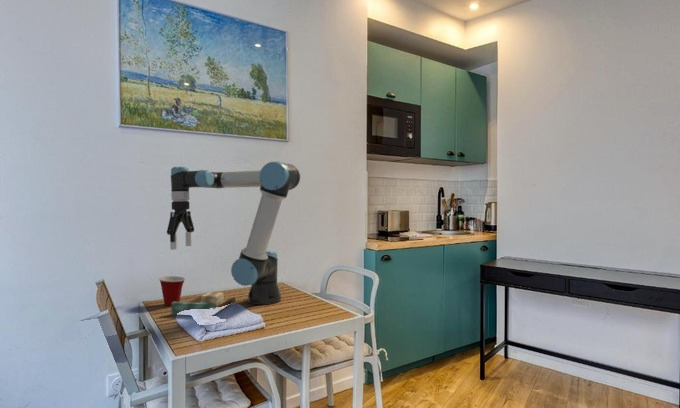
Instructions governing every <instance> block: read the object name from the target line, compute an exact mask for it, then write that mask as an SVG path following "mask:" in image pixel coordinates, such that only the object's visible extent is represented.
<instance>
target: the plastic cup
mask: <svg viewBox="0 0 680 408" xmlns="http://www.w3.org/2000/svg"><path fill="white" fill-rule="evenodd" d="M158 280H159V281H160V286H161V292H162V297H163V303H164V306H166V307H172V302H181V301H180V300H181V295H182V290H183V289H182V288H183V286H184V283H185V280H186V277H183V276H175V275H174V276H173V275H172V276H171V275H169V276H167V275H166V276H161V277H159V278H158Z"/></svg>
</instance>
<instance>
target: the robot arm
mask: <svg viewBox="0 0 680 408" xmlns="http://www.w3.org/2000/svg"><path fill="white" fill-rule="evenodd" d="M300 180H301V173H300V171H299V170H298V168H297V167H296V166H295V165H293V164H291V163H286V162H282V161H269V162H267V163H266V164H264V165H263V166H262V167H261V169H260V170H243V171H218V172H214V171H210V170H208V169H206V170H205V169H200V170H189V167H187V166H173V167H171V169H170V183H171V184H170V187H171V191H170V192H171V194H170V196H171V200H172V202H171V210H172V211H170V213H169V215H170V217H169V221H168V225H167V230H166V234H167V235H168V236H169V240H170V241H169V242H170V245H169V246H170V247H169V248H170V251H171V250H178V234H177V231H178V229H179V226H180V224H181V223H182V224H183V227H184V229H185V231H186V232H185V247H192V246H193V239H192V238H193V237H192V236H193V234H192V233H194V232H195V226H194V223H193V220H192V215H191V211H190V210H189V209H190V202H189V201H190V188H205V189H206V188H207V189H209V188H210V189H211V188H212V189H225V188H226V189H227V188H228V189H229V188H258V187H259V191H260V192H261V197H260V201H259V204H258V207H257V210H256V213H255V217H254V219H253V223H252V227H251V230H250V232H249V236H248V239H247V244H246V247H244V248H242V249H241V251H240V253H239V254H240V255H239V257H238V259H236V260H235V261H233V263H232V265H231V269H230V272H231V273H230V274H231V276H232V278H233V280H234V282H236V283H237V284H238V285H240V286H245V287H247V286H250V289H249V292H248V295H247V302H248V303H250V304H253V305H273V304H277V303H279V302H280V301H282V293H281V292H280V288H279V285H278V260H279V259H278V253H277V252H276V251H271V250H270V251H269V250H268V251H267V249H268V247H269V243H270V240H271V237H272V233H273V230H274V226H275V225H276V220H277V218H278V214H279V210H280V206H281V204H282V201H283V200H285V199H287V197H288V193H289V191H292V190H293V189H296V187H298V185H299V183H300Z"/></svg>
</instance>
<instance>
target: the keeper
mask: <svg viewBox="0 0 680 408" xmlns="http://www.w3.org/2000/svg"><path fill="white" fill-rule="evenodd" d="M224 294H225V293H224V292H213V291H209V292H207V293H205V294H203V295H201V296H202V301H201V303H214V307H217V306H219V305H220V304H222V303H224V302H225V301H224V299H225V297H224V296H225V295H224Z"/></svg>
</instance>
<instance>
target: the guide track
mask: <svg viewBox="0 0 680 408" xmlns="http://www.w3.org/2000/svg"><path fill="white" fill-rule="evenodd" d="M231 303H233V304H234V303H236V297H234V296H232V297H230V298H229V299H227V300H225V301H224V302H223V303H221V304H220V305H218V306H214V303H202V295H199V296H197V297H195V298H194V299H192V300H189V301H179V302H172V306H171V316H177V313H179V312H181V311H184V310H190V309H210V308H216V307H222V306H225V305H228V304H231ZM231 305H232V304H231Z"/></svg>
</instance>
